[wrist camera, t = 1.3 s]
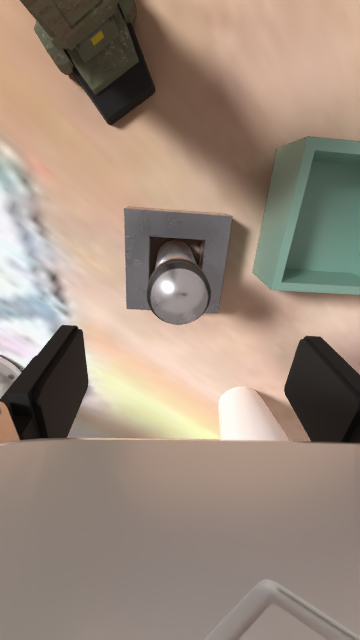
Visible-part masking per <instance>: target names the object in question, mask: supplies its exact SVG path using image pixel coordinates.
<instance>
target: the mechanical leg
mask: <svg viewBox="0 0 360 640" xmlns="http://www.w3.org/2000/svg"><path fill="white" fill-rule="evenodd" d="M20 1H21V2H22V3H23V5H24V6H25V7H26V8H27V9H28V11H29V12H30V13H31V14H32V15H33V17H34V18H35V19H36V20H37V21H36V24H35V27H34V30H35V32H36V34H37V35H38V37H39V39H40V40H41V42H42V44H43V45H44V47H45V49H46V50H47V52H48V53H49V55H50V56H51V58H52V59H53V61H54V62H55V64H56V65H57V67H58V68H59V69H60V71H61V72H62V73H64V74H65V75H67V74H71V73H73V74H74V76H75V77H76V79H77V80H78V82H79V83H80V84H81V86H82V87H83V89H84V90H85V92H86V93H87V95H88V96H89V97H90V99H91V100H92V102H93V103H94V105H95V106H96V108H97V109H98V110H99V112H100V113H101V115H102V116H103V118H104V119H105V121H106V122H107V124H109V125H112V124H114V123H115V122H116V121H118V120H119V119H120V118H122V117H123V116H124V115H126V114H127V113H128V112H130V111H131V110H132V109H134V108H135V107H137V106H138V105H139V104H141V103H142V102H143V101H145V100H146V99H147V98H149V97H150V96H151V95H153V94H154V93H155V87H154V84H153V81H152V79H151V76H150V73H149V71H148V68H147V65H146V62H145V60H144V57H143V54H142V52H141V49H140V46H139V43H138V41H137V38H136V35H135V33H134V30H133V27H132V23H133V22H134V20H135V18H136V6H135V2H134V0H20Z"/></svg>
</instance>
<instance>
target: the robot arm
mask: <svg viewBox="0 0 360 640" xmlns="http://www.w3.org/2000/svg"><path fill="white" fill-rule="evenodd" d="M87 387H88V374H87V365H86V357H85V348H84V339H83V332H82V330H81V329H78V327H77V326H70V325H62V326H61V327H60V328H59V329H58V330H57V332H56V333H55V334H54V335H53V336H52V338H51V339H50V340H49V341H48V343H47V344H46V345H45V346H44V348H43V349H42V350H41V351H40V353H39V354H38V355H37V356H35V357H34V358H33V359H32V360H31V361H30V363H29V364H28V365H27V366H26V368H25V369H24V370H23V371H22V372H21V371H20V370H19V369H18V368H17V367H16V366H15V365H13V364H12V363H10V362H9V361H8V360H6V359H4V358H2V357H0V640H360V375H359V374H358V373H357V372H356V371H355V370H354V369H353V368H352V367H351V366H350V365H349V364H348V363H347V362H346V361H345V360H344V359H343V358H342V357H341V356H340V355H339V354H338V353H337V352H336V351H335V350H334V349H333V348H332V347H331V346H330V345H328V344H327V343H326V342H325V341H324V340H323V339H322V338H321V337H315V336H306V337H304V339H301V340H300V342H299V344H298V347H297V350H296V354H295V357H294V360H293V363H292V366H291V369H290V372H289V375H288V378H287V381H286V384H285V388H284V391H285V395H286V397H287V399H288V400H289V402H290V404H291V406H292V407H293V409H294V411H295V413H296V415H297V416H298V418H299V420H300V422H301V423H302V425H303V427H304V429H305V431H306V432H307V434H308V436H309V438H310V440H311V441H312V442H308V441H267V440H217V439H153V438H67V436H68V433H69V431H70V429H71V426H72V424H73V421H74V419H75V417H76V414H77V412H78V410H79V407H80V405H81V402H82V400H83V398H84V395H85V393H86V390H87Z"/></svg>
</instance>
